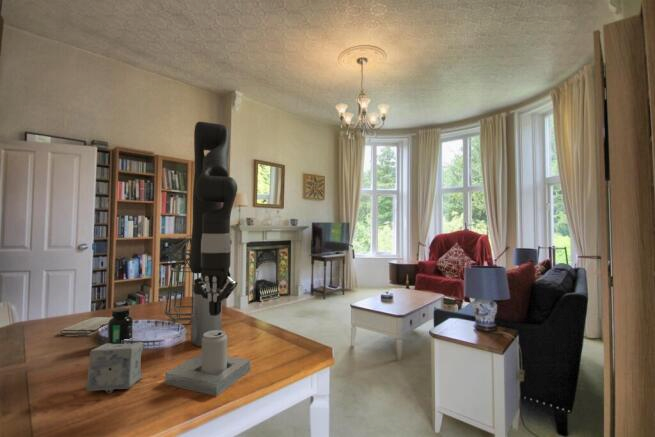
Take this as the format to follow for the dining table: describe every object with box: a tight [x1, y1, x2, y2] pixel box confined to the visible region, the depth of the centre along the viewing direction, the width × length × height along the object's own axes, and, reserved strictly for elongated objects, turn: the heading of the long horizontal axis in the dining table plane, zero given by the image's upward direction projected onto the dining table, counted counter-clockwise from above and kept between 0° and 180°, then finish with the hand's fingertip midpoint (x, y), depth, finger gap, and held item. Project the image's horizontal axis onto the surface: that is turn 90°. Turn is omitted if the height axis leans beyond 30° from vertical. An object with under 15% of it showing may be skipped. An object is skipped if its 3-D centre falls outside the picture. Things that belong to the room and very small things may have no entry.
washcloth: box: [59, 316, 113, 337], centre depth 122 cm, size 12×18×3 cm, turn 1°
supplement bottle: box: [107, 307, 134, 344], centre depth 106 cm, size 7×7×12 cm
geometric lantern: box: [163, 237, 200, 326], centre depth 132 cm, size 16×16×35 cm
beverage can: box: [201, 330, 228, 376], centre depth 84 cm, size 6×6×12 cm
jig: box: [165, 352, 251, 397], centre depth 85 cm, size 16×14×3 cm
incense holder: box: [85, 341, 144, 394], centre depth 80 cm, size 10×8×10 cm
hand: (215, 314), depth 84 cm, fingers closed
